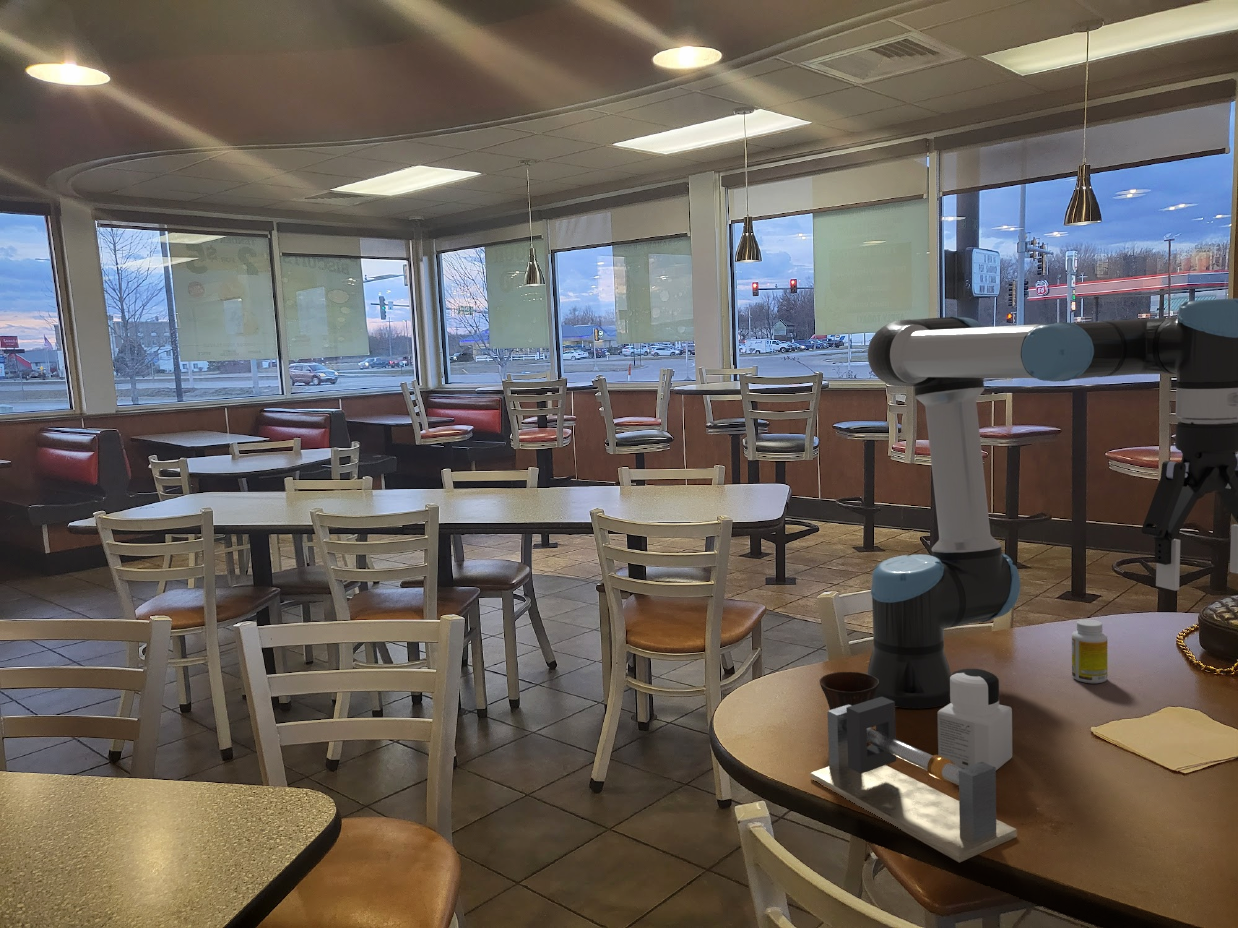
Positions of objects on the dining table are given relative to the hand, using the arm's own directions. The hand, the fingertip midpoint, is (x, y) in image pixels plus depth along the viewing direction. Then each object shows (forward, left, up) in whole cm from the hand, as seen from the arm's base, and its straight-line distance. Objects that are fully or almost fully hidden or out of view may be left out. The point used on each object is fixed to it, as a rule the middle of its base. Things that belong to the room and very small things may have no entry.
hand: (1205, 580), depth 121 cm
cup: (-37, -29, -27) cm, 54 cm away
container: (-21, -20, -27) cm, 39 cm away
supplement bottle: (-31, +21, -27) cm, 46 cm away
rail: (-17, -38, -27) cm, 49 cm away
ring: (-23, -38, -24) cm, 50 cm away
